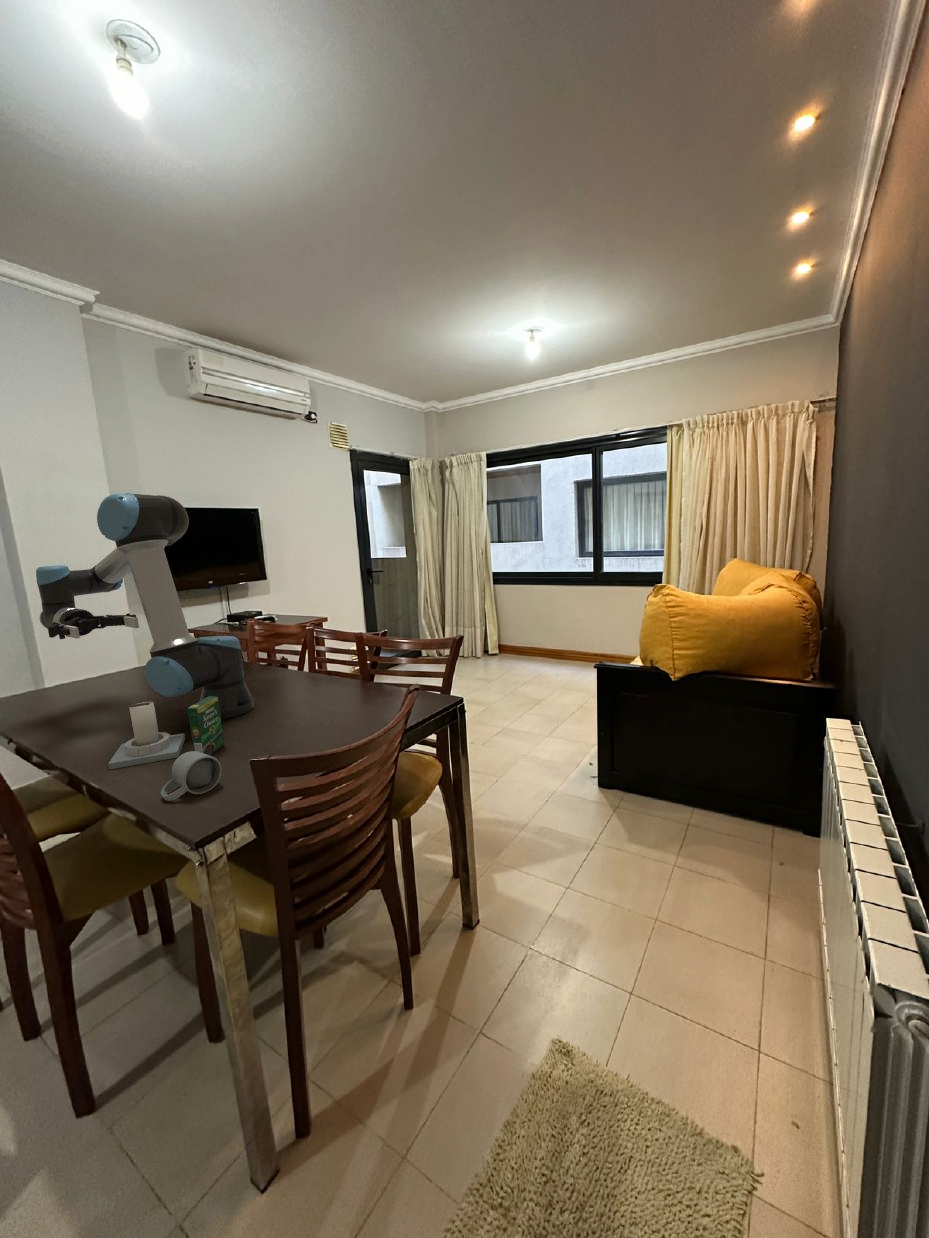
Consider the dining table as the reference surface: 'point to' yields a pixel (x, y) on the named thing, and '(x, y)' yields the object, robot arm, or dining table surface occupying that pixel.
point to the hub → (147, 751)
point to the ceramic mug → (193, 774)
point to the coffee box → (206, 725)
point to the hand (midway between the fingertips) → (108, 627)
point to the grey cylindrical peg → (144, 723)
